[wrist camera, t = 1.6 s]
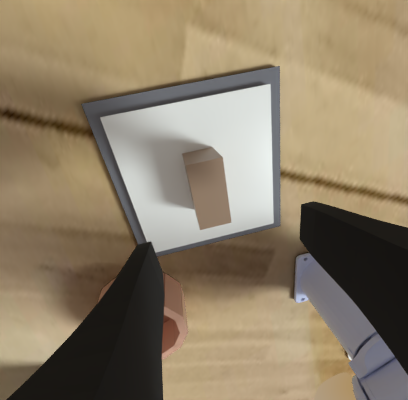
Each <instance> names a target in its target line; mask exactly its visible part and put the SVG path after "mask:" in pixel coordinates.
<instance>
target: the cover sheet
mask: <svg viewBox="0 0 408 400" xmlns="http://www.w3.org/2000/svg"><path fill="white" fill-rule="evenodd" d="M100 119H101V122H102V124H103V127H104V130H105V132H106V135H107V138H108V140H109V143H110V146H111V148H112V151H113V154H114V156H115V159H116V162H117V164H118V167H119V169H120V172H121V175H122V177H123V180H124V183H125V185H126V188H127V191H128V193H129V196H130V199H131V201H132V204H133V207H134V209H135V212H136V214H137V217H138V220H139V222H140V225H141V228H142V230H143V233H144V236H145V238H146V241H147V242H150V241H151V242H152V245H153V248H154V250H155V253H156V252H160V251H164V250H168V249H172V248H176V247H180V246H185V245H189V244H193V243H197V242H201V241H205V240H209V239H213V238H217V237H221V236H225V235H229V234H233V233H237V232H241V231H245V230H249V229H253V228H257V227H261V226H265V225H269V224H273V223H274V215H273V170H272V126H271V84H266V85H261V86H256V87H251V88H246V89H241V90H236V91H231V92H226V93H221V94H216V95H211V96H206V97H200V98H195V99H190V100H185V101H180V102H175V103H170V104H165V105H160V106H155V107H150V108H145V109H140V110H135V111H129V112H124V113H119V114H114V115H109V116H104V117H100Z"/></svg>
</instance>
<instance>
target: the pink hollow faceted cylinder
mask: <svg viewBox="0 0 408 400" xmlns="http://www.w3.org/2000/svg"><path fill="white" fill-rule="evenodd" d="M115 279H116V278H114V279H113V280H112V281H111V282H110V283H108V284H107V285H106V286H105V287H104V288H102V290H101V293H100V296H99V299H98V302H99V301H100V299H101V298H102V297H103V295H104V294H105V293H106V291H107V290H108V289H109V287H110V286H111V285H112V283H113V282H114V280H115ZM163 279H164V294H165V297H164V319H163V338H162V359H165V358H166V357H168V356H169V355H171V354H172V353H173V352H175V351H176V350H178V349H179V348H181V346H182V344H183V342H184V340H185V338H186V336H187V334H188V324H187V314H186V305H185V297H184V294H183V290H182V287H181V284H180V283H179V282H177V281H176V280H175V279H173V278H172V277H170V276H169V275H167V274H166V273H163ZM98 302H97V304H98Z"/></svg>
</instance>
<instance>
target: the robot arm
mask: <svg viewBox="0 0 408 400" xmlns="http://www.w3.org/2000/svg"><path fill="white" fill-rule="evenodd" d="M300 240H301V241H302V243H303V244H304V246H305V247H306V249H307V250H308V252H309V253H306V254H302V255H299V256H297V258H296V267H295V292H294V300H295V302H296V303H300V302H303V301H307V300H310V302H311V303H312V305H313V306H314V307H315V309H316V310H317V312H318V313H319V314H320V316H321V317H322V319H323V320H324V321H325V323H326V324H327V325H328V327H329V328H330V330H331V331H332V332H333V334H334V335H335V337H336V338H337V339H338V341H339V342H340V344H341V345H342V346H343V348H344V349H345V350H346V352H347V353H348V355H349V356H350V357H351V359H352V361H350V362H349V365H350V367H351V368H352V370H353V371H354V373H355V374H356V375H355V376H353V378H352V384H353V391H354V395H355V398H356V400H408V228H407V227H403V226H399V225H395V224H391V223H387V222H383V221H380V220H376V219H372V218H369V217H366V216H362V215H359V214H356V213H352V212H349V211H346V210H342V209H339V208H336V207H333V206H329V205H326V204H322V203H318V202H309V203H305V204H301V222H300ZM164 297H165V294H164V279H163V272H162V269H161V267H160V264H159V261H158V258H157V256H156V253H155V250H154V248H153V245H152V242H151V241H150V242H146V243H142V244H138V245H137V247H136V248H135V250H134V251H133V253H132V254H131V256H130V257H129V259H128V260H127V262H126V264H125V265H124V267H123V268H122V270H121V271H120V273H119V274H118V276H117V277H116V279H115V280H114V282H113V283H112V285H111V286H110V287H109V289H108V290H107V291H106V293H105V294H104V295H103V297H102V298H101V299H100V301H99V302H98V304H97V305H96V306H95V307H94V309H93V310H92V311H91V312H90V314H89V315H88V316H87V317H86V318H85V319H84V321H83V322H82V323H81V324H80V325H79V326H78V328H77V329H76V330H75V331H74V332H73V333H72V334H71V336H70V337H69V338H68V339H67V340H66V341H65V342H64V343H63V344H62V345H61V346H60V347H59V348H58V349H57V350H56V351H55V352H54V354H53V355H52V356H51V357H50V358H49V359H48V360H47V361H46V362H45V363H44V364H43V365H42V366H41V367H40V368H39V369H38V370H37V371H36V372H35V373H34V374H33V375H32V376H31V377H30V378H29V379H28V380H27V381H26V382H25V383H24V384H23V385H22V386H21V387H20V388H19V389H18V390H16V391H15V392H14V393H13V394H12V395H11V396H10V397H9V398H8V399H7V400H163V384H162V338H163V319H164Z"/></svg>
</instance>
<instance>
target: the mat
mask: <svg viewBox="0 0 408 400" xmlns="http://www.w3.org/2000/svg"><path fill="white" fill-rule="evenodd" d="M266 84H271V126H272V170H273V215H274V223H273V224H269V225H265V226H261V227H257V228H253V229H249V230H245V231H241V232H237V233H233V234H229V235H225V236H221V237H217V238H213V239H209V240H205V241H201V242H197V243H193V244H189V245H185V246H180V247H176V248H172V249H168V250H164V251H160V252H156V256H157V257H158V256H162V255H166V254H170V253H174V252H178V251H182V250H186V249H190V248H194V247H198V246H202V245H206V244H210V243H214V242H218V241H222V240H226V239H230V238H234V237H238V236H242V235H246V234H250V233H254V232H258V231H262V230H266V229H270V228H274V227H278V226H280V66H277V67H272V68H267V69H262V70H256V71H251V72H246V73H241V74H235V75H230V76H225V77H220V78H215V79H209V80H204V81H199V82H194V83H188V84H183V85H178V86H173V87H167V88H162V89H157V90H152V91H147V92H141V93H136V94H131V95H126V96H120V97H115V98H110V99H105V100H100V101H94V102H89V103H84V104H81V105H82V107H83V110H84V112H85V114H86V117H87V119H88V122H89V124H90V127H91V129H92V132H93V134H94V137H95V139H96V142H97V144H98V147H99V149H100V151H101V154H102V156H103V159H104V161H105V164H106V166H107V169H108V171H109V174H110V176H111V179H112V181H113V184H114V186H115V189H116V191H117V193H118V196H119V198H120V201H121V203H122V206H123V208H124V211H125V213H126V216H127V218H128V221H129V223H130V226H131V228H132V230H133V233H134V235H135V238H136V240H137V243H138V244H142V243H146V242H147V241H146V238H145V236H144V233H143V230H142V228H141V225H140V222H139V220H138V217H137V214H136V212H135V209H134V207H133V204H132V201H131V199H130V196H129V193H128V191H127V188H126V185H125V183H124V180H123V177H122V175H121V172H120V169H119V167H118V164H117V162H116V159H115V156H114V154H113V151H112V148H111V146H110V143H109V140H108V138H107V135H106V132H105V130H104V127H103V124H102V122H101V119H100V117H104V116H109V115H114V114H119V113H124V112H129V111H135V110H140V109H145V108H150V107H155V106H160V105H165V104H170V103H175V102H180V101H185V100H190V99H195V98H200V97H206V96H211V95H216V94H221V93H226V92H231V91H236V90H241V89H246V88H251V87H256V86H261V85H266Z"/></svg>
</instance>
